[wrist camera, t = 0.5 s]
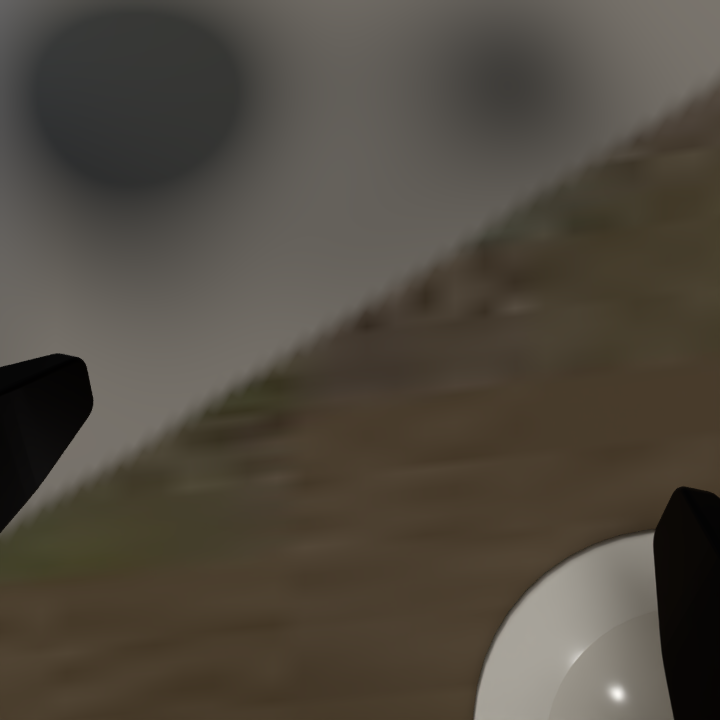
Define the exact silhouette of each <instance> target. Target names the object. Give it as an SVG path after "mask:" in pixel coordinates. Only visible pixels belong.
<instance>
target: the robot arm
mask: <svg viewBox="0 0 720 720" xmlns="http://www.w3.org/2000/svg"><path fill="white" fill-rule="evenodd" d="M92 407H93V395H92V391H91V385H90V380H89V376H88V371H87V366H86V364H85V362H84V361H83V360H82V359H81V358H79V357H74V356H70V355H65V354H60V353H59V354H58V353H56V354H51V355H47V356H43V357H40V358H35V359H31V360H27V361H23V362H19V363H15V364H11V365H7V366H3V367H0V533H1V532H2V530H3V529H4V528H5V527H6V526H7V525H8V523H9V522H10V521H11V520H12V519H13V518H14V516H15V515H16V514H17V513H18V512H19V511H20V509H21V508H22V507H23V506H24V505H25V504H26V502H27V501H28V500H29V499H30V498H31V496H32V495H33V494H34V493H35V491H36V490H37V489H38V488H39V486H40V485H41V483H42V482H43V481H44V479H45V478H46V477H47V475H48V474H49V472H50V471H51V470H52V468H53V467H54V465H55V464H56V462H57V461H58V459H59V458H60V457H61V455H62V454H63V452H64V451H65V450H66V448H67V447H68V445H69V444H70V442H71V441H72V440H73V438H74V437H75V435H76V434H77V432H78V431H79V430H80V428H81V427H82V425H83V424H84V422H85V421H86V420H87V418H88V417H89V415H90V413H91V411H92ZM653 553H654V567H655V580H656V594H657V607H658V620H659V634H660V644H661V654H662V660H663V666H664V672H665V677H666V682H667V687H668V692H669V697H670V702H671V708H672V713H673V718H674V720H720V498H719V497H718V496H716V495H715V494H714V493H711V492H708V491H704V490H699V489H694V488H689V487H685V486H682V487H679V488H677V489H676V490H675V491H674V492H673V494H672V496H671V498H670V500H669V502H668V504H667V506H666V508H665V510H664V513H663V515H662V517H661V519H660V521H659V523H658V525H657V527H656V529H655V533H654V538H653Z"/></svg>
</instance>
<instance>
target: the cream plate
mask: <svg viewBox="0 0 720 720" xmlns="http://www.w3.org/2000/svg"><path fill="white" fill-rule="evenodd" d="M654 533H655V529H650V530H643V531H638V532H633V533H628V534H623V535H619V536H616V537H613V538H610V539H607V540H604V541H601V542H598V543H595V544H593V545H591V546H589V547H587V548H585V549H583V550H581V551H579V552H577V553H575V554H573V555H571V556H569V557H567V558H566V559H564V560H563V561H561V562H560V563H558V564H557V565H555V566H554V567H552V568H551V569H550V570H548V571H547V572H545V573H544V574H543V575H542V576H541V577H540V578H539V579H538V580H537V581H536V582H534V583H533V584H532V585H531V586H530V587H529V588H528V589H527V590H526V591H525V592H524V593H523V595H522V596H521V597H520V598H519V599H518V601H517V602H516V603H515V604H514V606H513V607H512V608H511V609H510V610H509V612H508V614H507V615H506V617H505V618H504V620H503V622H502V623H501V625H500V627H499V628H498V630H497V632H496V633H495V635H494V638H493V640H492V642H491V645H490V647H489V649H488V652H487V654H486V656H485V659H484V662H483V666H482V670H481V673H480V677H479V680H478V684H477V690H476V698H475V705H474V712H473V720H674V718H673V713H672V708H671V702H670V697H669V692H668V687H667V682H666V677H665V672H664V666H663V660H662V654H661V644H660V634H659V620H658V607H657V594H656V580H655V567H654V553H653V538H654Z"/></svg>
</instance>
